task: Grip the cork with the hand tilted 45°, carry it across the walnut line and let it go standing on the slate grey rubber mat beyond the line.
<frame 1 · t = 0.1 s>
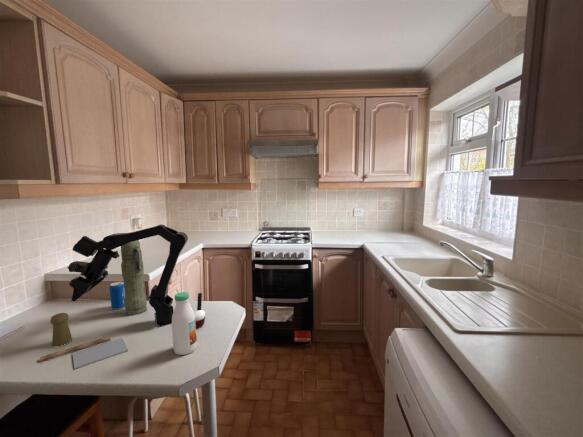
hand: (79, 296, 112), 15 cm above the table, tool tilted 35°, fingers open, 9 cm apart
thermos: (136, 311, 132), on the table
walnut line: (77, 349, 101), on the table
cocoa: (198, 326, 116), on the table
milk bottle: (185, 349, 99), on the table
beverage can: (119, 308, 137), on the table
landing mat: (100, 352, 98), on the table
cork: (62, 342, 106), on the table
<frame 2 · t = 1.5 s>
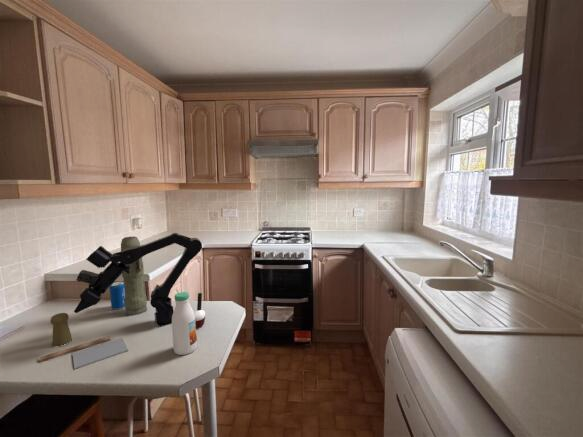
hand: (78, 307, 107), 12 cm above the table, tool tilted 45°, fingers open, 9 cm apart
nothing on the table moved.
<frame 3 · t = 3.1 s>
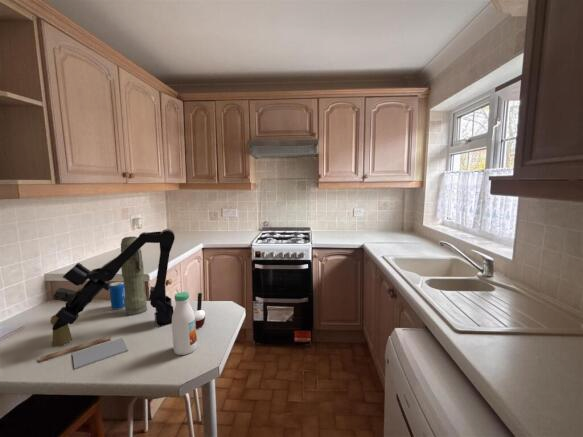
hand: (55, 326, 105), 7 cm above the table, tool tilted 45°, fingers closed on cork, 5 cm apart
cork: (62, 342, 106), on the table, touching gripper
everything else where it was.
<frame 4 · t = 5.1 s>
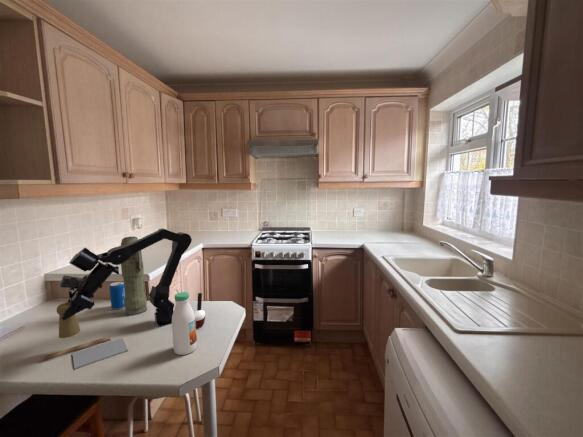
hand: (62, 316, 97), 13 cm above the table, tool tilted 45°, fingers closed on cork, 5 cm apart
cork: (69, 334, 99), point 6 cm above the table, touching gripper
everything else where it was.
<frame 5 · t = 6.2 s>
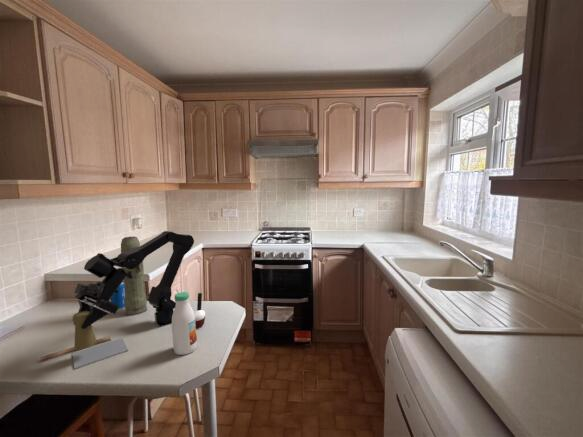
hand: (78, 326, 93), 12 cm above the table, tool tilted 45°, fingers closed on cork, 5 cm apart
cork: (85, 344, 95), point 5 cm above the table, touching gripper
everything else where it was.
when the fingers open (8 cm above the table, at t = 7.3 s): cork drops 1 cm, resting on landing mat.
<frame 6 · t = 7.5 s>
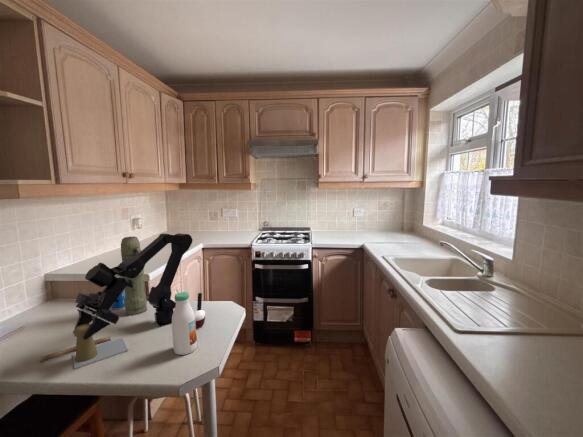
hand: (79, 336, 93), 8 cm above the table, tool tilted 45°, fingers open, 7 cm apart
cork: (86, 357, 96), resting on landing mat
everything else where it was.
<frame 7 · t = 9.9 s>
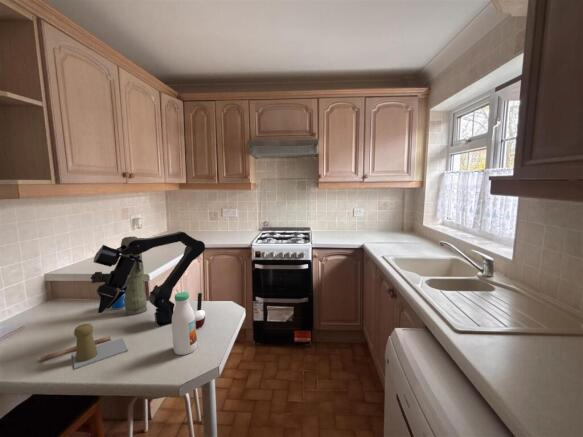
hand: (103, 310, 104), 12 cm above the table, tool tilted 30°, fingers open, 9 cm apart
nothing on the table moved.
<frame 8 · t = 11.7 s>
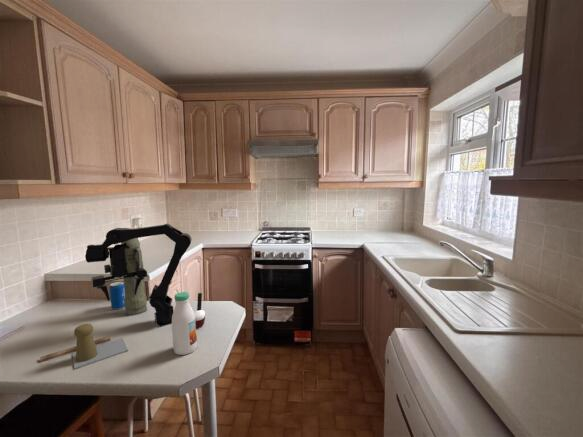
hand: (122, 297, 114), 13 cm above the table, tool pointing down, fingers open, 9 cm apart
nothing on the table moved.
at the end: cork inside the target area (0.4 cm from its centre), resting on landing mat; cork tilted 0°; the gripper is holding nothing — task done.
